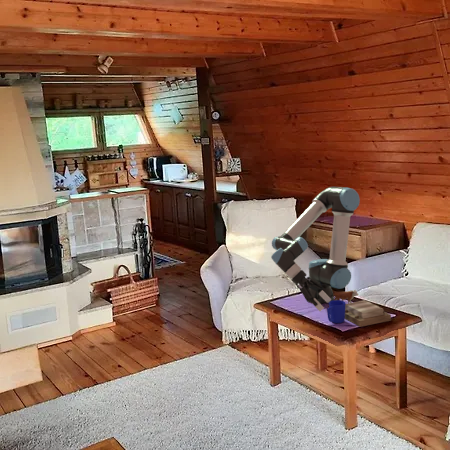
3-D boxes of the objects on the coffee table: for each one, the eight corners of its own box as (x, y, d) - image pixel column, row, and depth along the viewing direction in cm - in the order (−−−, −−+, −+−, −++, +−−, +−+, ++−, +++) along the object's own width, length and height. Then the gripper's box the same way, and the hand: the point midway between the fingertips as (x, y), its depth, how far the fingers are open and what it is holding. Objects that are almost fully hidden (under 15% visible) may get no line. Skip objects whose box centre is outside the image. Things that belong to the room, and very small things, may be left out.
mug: (321, 324, 282) (320, 305, 280) (335, 317, 290) (335, 299, 288) (335, 327, 276) (334, 308, 274) (349, 320, 284) (348, 301, 282)
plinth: (338, 315, 294) (337, 303, 293) (367, 309, 300) (367, 298, 299) (359, 326, 275) (359, 315, 274) (390, 320, 281) (390, 308, 280)
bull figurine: (358, 305, 306) (358, 290, 305) (333, 305, 309) (333, 291, 308) (358, 302, 311) (358, 288, 309) (333, 302, 314) (333, 288, 312)
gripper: (299, 272, 298) (327, 302, 295) (283, 285, 276) (313, 318, 273) (308, 263, 295) (337, 293, 291) (293, 276, 273) (324, 308, 269)
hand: (325, 305), depth 282 cm, fingers open, 13 cm apart
